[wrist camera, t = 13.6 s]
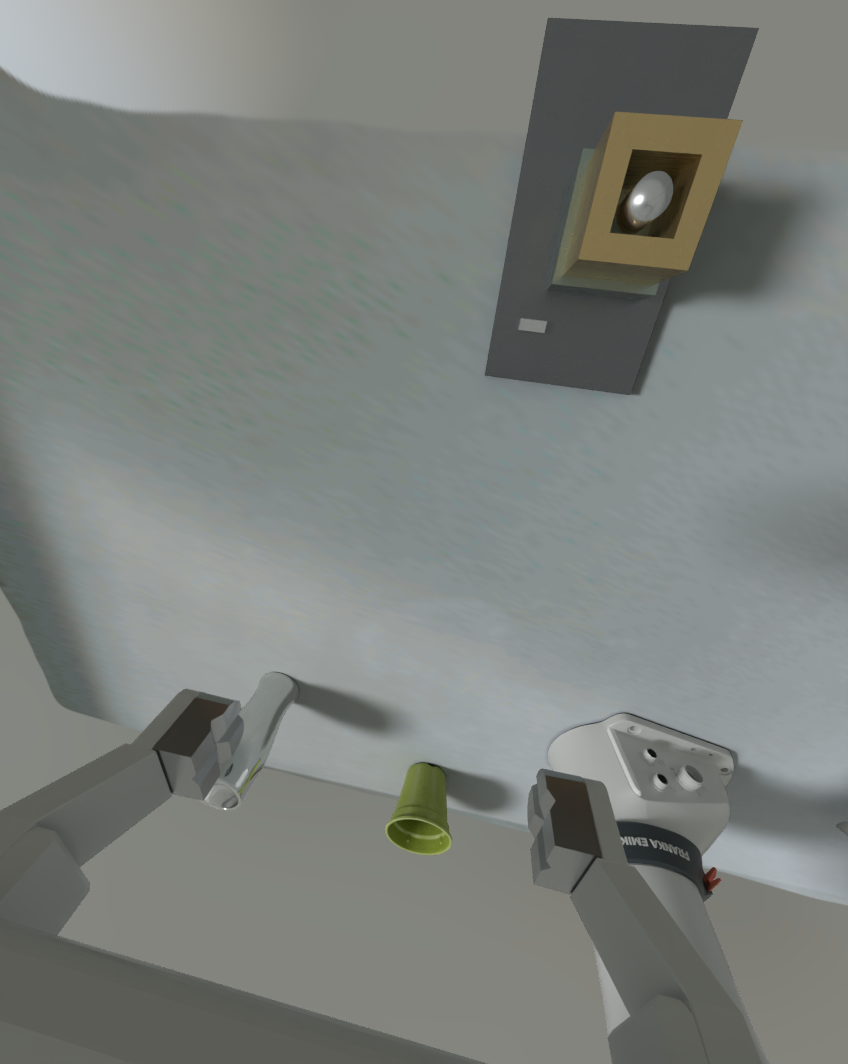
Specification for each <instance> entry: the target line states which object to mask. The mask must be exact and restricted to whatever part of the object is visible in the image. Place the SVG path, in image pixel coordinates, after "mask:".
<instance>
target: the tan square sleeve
mask: <svg viewBox="0 0 848 1064" xmlns="http://www.w3.org/2000/svg"><path fill="white" fill-rule="evenodd" d="M741 124H742V120H732V119H731V120H730V119H717V118H702V117H688V116H673V115H658V114H643V113H629V112H615V113H614V115H613V117H612V119H611V121H610V123H609V124H608V126H607V128H606V130H605V132H604V134H603V136H602V138H601V140H600V142H599V143H598V145H597V147H596V149H595V151H594V153H593V155H592V157H591V159H590V162H589V166H588V170H587V175H586V179H585V183H584V187H583V191H582V196H581V200H580V204H579V208H578V213H577V217H576V221H575V225H574V229H573V234H572V238H571V242H570V246H569V250H568V255H567V259H566V263H565V267H564V272H563V276H568V277H578V278H587V279H596V280H606V281H615V282H624V283H634V284H643V285H655V284H657V283H659V282H662V281H664V280H667V279H669V278H671V277H674V276H676V275H678V274H681V273H683V272H686V271H688V269H689V267H690V264H691V261H692V259H693V256H694V253H695V250H696V248H697V245H698V242H699V239H700V237H701V234H702V231H703V228H704V226H705V223H706V220H707V217H708V215H709V212H710V209H711V206H712V204H713V201H714V198H715V195H716V193H717V190H718V187H719V184H720V182H721V179H722V176H723V173H724V171H725V168H726V165H727V162H728V160H729V157H730V154H731V152H732V149H733V146H734V143H735V141H736V138H737V135H738V132H739V130H740V127H741ZM654 171H663V172H665V173H667V174H668V175H669V176H670V178H671V179H672V182H673V195H672V199H671V201H670V203H669V205H668V207H667V208H666V209H665V211H664V212H663V213H662V214H660V215H659V216H658V217H657V218H656V219H654V220H653V221H652V222H651V225H650V228H649V232H648V235H647V236H637V235H627V234H617V233H610V230H611V226H612V222H613V219H614V215H615V211H616V208H617V204H618V200H619V197H620V193H621V190H625V191H631V190H632V189H633V188H634V187H635V186H636V185H637V183H638V182H639V181H640V180H641V179H642V178H643V177H644V176H646V175H647V174H649V173H651V172H654Z"/></svg>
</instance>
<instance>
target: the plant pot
mask: <svg viewBox="0 0 848 1064" xmlns="http://www.w3.org/2000/svg"><path fill="white" fill-rule="evenodd" d="M385 832H386V835H387V837H388V838H389V840H391V842H392V843H393V844H395V845H397V846H398V847H400V848H402V849H404V850H406V851H409V852H413V853H416V854H422V855H436V854H441V853H444V852H446V851H447V850H449V848H450V847H451V845H452V837H451V835H450V833H449V826H448V823H447V802H446V776H445V774H444V772H443V771H442V770H441V769H440V768H438V767H432V766H430V765H429V764H427V763H418V764H414V765H412V766H411V767H410V768H409V770H408V772H407V775H406V778H405V782H404V785H403V788H402V791H401V794H400V798H399V801H398V804H397V807H396V810H395V812H394V813H393V815H392V817H391V820H390V821H389V822H388V824H387V825H386V829H385Z"/></svg>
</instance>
